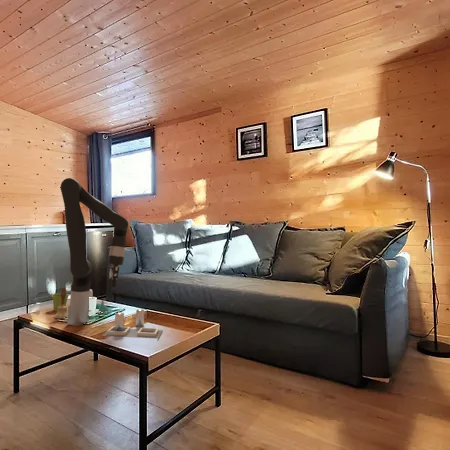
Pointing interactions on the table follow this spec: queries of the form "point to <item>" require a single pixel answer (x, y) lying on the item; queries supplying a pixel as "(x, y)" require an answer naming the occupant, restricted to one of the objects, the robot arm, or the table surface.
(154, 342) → the table surface
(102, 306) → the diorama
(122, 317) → the block
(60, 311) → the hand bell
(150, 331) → the pallet board
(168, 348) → the table surface
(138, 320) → the block
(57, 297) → the plant pot
